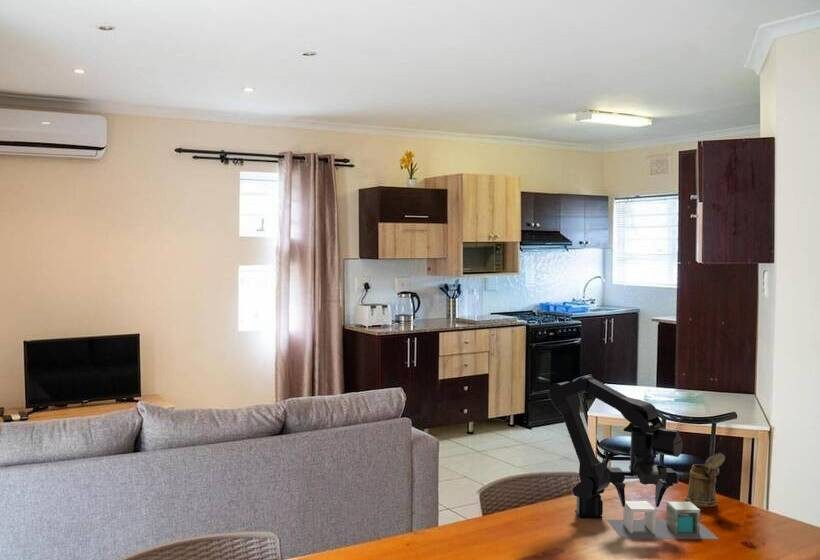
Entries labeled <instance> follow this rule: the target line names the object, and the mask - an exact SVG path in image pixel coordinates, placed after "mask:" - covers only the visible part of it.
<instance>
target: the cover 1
mask: <svg viewBox="0 0 820 560" xmlns="http://www.w3.org/2000/svg"><path fill="white" fill-rule="evenodd" d="M622 513H623V515H622V516H623V517H622V520H623V525H624V526H625V527H626V528H627V529H628V531H629V532H630V533H633V522H634V520H635V518H634V517H635V513H644V519H643V520H644V525H645V526H646V527H647V528H648V529H649V530H650V531H651V532H652V533H655V520H656V514H657V513H656V507H654V506H653V505H652V504H651V503H650V502H649V501H646V500H645V501H644V500H642V501H640V500H639V501H638V500H625V507H623V512H622Z"/></svg>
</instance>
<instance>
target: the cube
mask: <svg viewBox="0 0 820 560" xmlns="http://www.w3.org/2000/svg"><path fill="white" fill-rule="evenodd" d="M678 532H693V517H692V516H691V515H690V514H689V513H679V512H678Z"/></svg>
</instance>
